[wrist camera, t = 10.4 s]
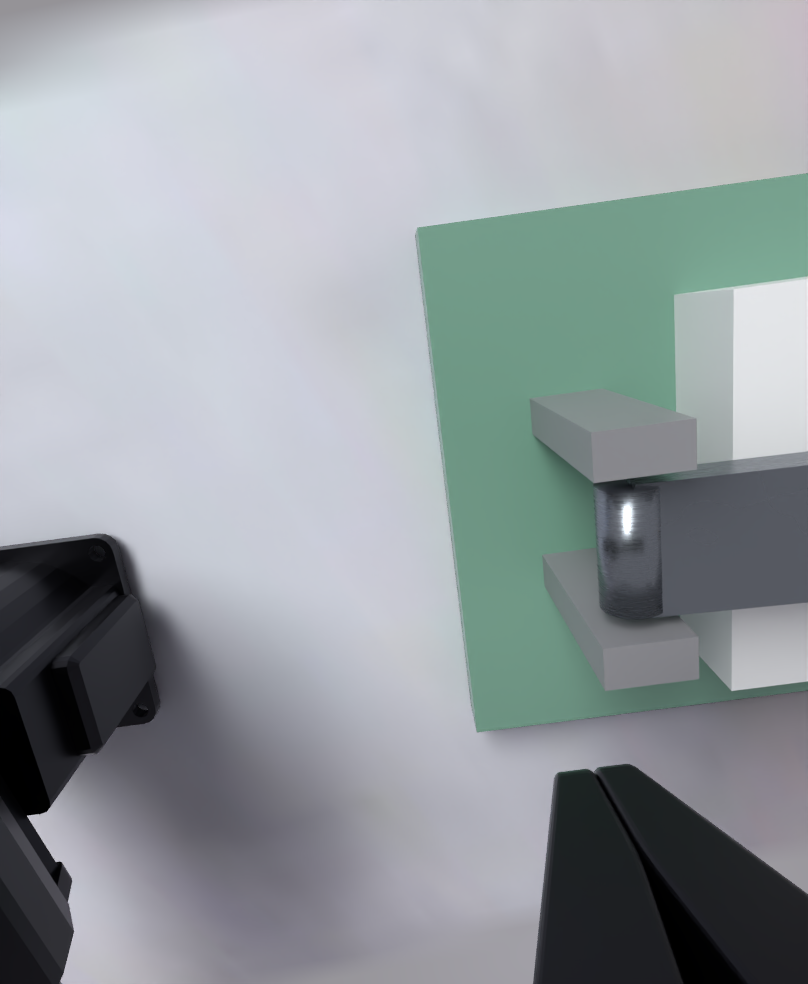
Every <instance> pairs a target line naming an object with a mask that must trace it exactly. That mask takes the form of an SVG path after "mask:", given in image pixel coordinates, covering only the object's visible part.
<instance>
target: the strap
mask: <svg viewBox="0 0 808 984" xmlns="http://www.w3.org/2000/svg"><path fill="white" fill-rule="evenodd" d="M593 498H594V516H595V534H596V552H597V570H598V588H599V605H600V608H601V609H602V610H603V611H604V612H605V613H607V614H609V615H611V616H614V617H618V618H622V619H632V620H639V619H648V618H656V617H666V616H676V615H686V614H697V613H707V612H717V611H727V610H737V609H747V608H757V607H767V606H777V605H787V604H798V603H808V451H807V452H798V453H790V454H781V455H772V456H764V457H755V458H746V459H738V460H729V461H721V462H712V463H703V464H697V470H690V471H682V472H675V473H667V474H660V475H652V476H645V477H637V478H630V479H622V480H614V481H607V482H599V483H593Z"/></svg>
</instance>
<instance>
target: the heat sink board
mask: <svg viewBox="0 0 808 984" xmlns="http://www.w3.org/2000/svg"><path fill="white" fill-rule="evenodd" d="M415 238H416V246H417V255H418V263H419V271H420V280H421V288H422V297H423V305H424V313H425V322H426V330H427V339H428V347H429V355H430V364H431V372H432V380H433V389H434V397H435V406H436V414H437V422H438V431H439V439H440V448H441V456H442V464H443V473H444V481H445V490H446V498H447V506H448V515H449V523H450V532H451V540H452V548H453V557H454V565H455V574H456V582H457V590H458V599H459V607H460V615H461V624H462V632H463V641H464V649H465V657H466V666H467V674H468V683H469V691H470V699H471V706H472V711H473V716H474V721H475V726H476V730H477V732H484V731H492V730H500V729H507V728H515V727H523V726H531V725H539V724H547V723H555V722H563V721H571V720H579V719H586V718H594V717H602V716H610V715H618V714H626V713H634V712H642V711H650V710H658V709H665V708H673V707H681V706H689V705H697V704H705V703H713V702H721V701H729V700H737V699H744V698H752V697H760V696H768V695H776V694H784V693H792V692H800V691H808V603H798V604H787V605H777V606H767V607H757V608H747V609H737V610H727V611H717V612H707V613H697V614H686V615H676V616H666V617H656V618H648V619H639V620H632V619H622V618H618V617H614V616H611V615H609V614H607V613H605V612H604V611H603V610H602V609H601V608H600V605H599V588H598V570H597V552H596V534H595V516H594V498H593V483H599V482H607V481H614V480H622V479H630V478H637V477H645V476H652V475H660V474H667V473H675V472H682V471H690V470H697V464H703V463H712V462H721V461H729V460H738V459H746V458H755V457H764V456H772V455H781V454H790V453H798V452H807V451H808V173H806V174H799V175H792V176H785V177H778V178H770V179H763V180H756V181H749V182H742V183H735V184H727V185H720V186H713V187H706V188H699V189H692V190H684V191H677V192H670V193H663V194H656V195H649V196H641V197H634V198H627V199H620V200H613V201H606V202H598V203H591V204H584V205H577V206H570V207H563V208H555V209H548V210H541V211H534V212H527V213H520V214H512V215H505V216H498V217H491V218H484V219H477V220H470V221H462V222H455V223H448V224H441V225H434V226H427V227H419V228H417V231H416V235H415Z"/></svg>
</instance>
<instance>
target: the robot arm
mask: <svg viewBox="0 0 808 984" xmlns="http://www.w3.org/2000/svg"><path fill="white" fill-rule="evenodd" d="M94 546H100V547H102V548H103V549H104V551H105V557H103V556H99V555H98V554H96V552H95V550H94ZM155 669H156V664H155V660H154V657H153V653H152V649H151V645H150V641H149V638H148V634H147V630H146V626H145V623H144V619H143V615H142V611H141V607H140V604H139V601H138V600H137V599H136V598H135V597H134V596H133V595H132V594H131V591H130V588H129V584H128V580H127V576H126V573H125V569H124V565H123V561H122V558H121V554H120V550H119V547H118V545H117V543H116V541H115V540H114V539H113V538H112V537H111V536H108V535H106V534H93V535H85V536H77V537H70V538H62V539H55V540H47V541H40V542H32V543H25V544H17V545H10V546H2V547H0V984H62V983H61V982H60V980H61V977H62V975H63V973H64V969H65V965H66V961H67V957H68V953H69V949H70V945H71V941H72V937H73V933H74V929H73V924H72V919H71V913H70V908H69V904H68V898H69V893H70V889H71V884H72V878H71V876H70V875H69V873H68V872H67V870H66V868H65V867H64V865H63V864H62V862H55V860H54V859H53V857H52V856H51V854H50V852H49V851H48V849H47V848H46V846H45V844H44V843H43V841H42V840H41V838H40V836H39V835H38V833H37V832H36V830H35V828H34V827H33V825H32V824H31V822H30V821H29V819H28V817H27V815H35V814H42V813H44V812H47V811H48V809H49V808H50V807H51V805H52V804H53V802H54V801H55V799H56V798H57V797H58V795H59V794H60V792H61V791H62V789H63V788H64V787H65V785H66V784H67V782H68V781H69V780H70V778H71V777H72V775H73V774H74V772H75V771H76V770H77V768H78V767H79V765H80V764H81V762H82V761H83V760H84V758H85V757H86V755H91V754H97V753H98V752H99V751H100V750H101V749H102V747H103V746H104V745H105V743H106V742H107V740H108V739H109V737H110V736H111V734H112V733H113V731H114V730H115V728H116V727H122V726H130V725H138V724H145V723H148V722H150V721H151V720H152V719H154V717H155V715H156V714H157V712H158V710H159V708H160V700H159V696H158V692H157V688H156V685H155V681H154V677H153V672H154V671H155ZM138 704H144V705H145V706H147V708H148V710H143V709H141V708H139V706H138ZM538 932H539V933H538V941H537V951H536V960H535V971H534V981H533V984H808V894H807V893H805V892H804V891H802V890H801V889H800V888H799V887H797V886H796V885H795V884H793V883H792V882H791V881H789V880H788V879H787V878H785V877H784V876H782V875H781V874H780V873H778V872H777V871H776V870H774V869H773V868H772V867H770V866H769V865H768V864H766V863H765V862H764V861H762V860H761V859H759V858H758V857H757V856H755V855H754V854H753V853H751V852H750V851H749V850H747V849H746V848H745V847H743V846H742V845H741V844H739V843H738V842H736V841H735V840H734V839H732V838H731V837H730V836H728V835H727V834H726V833H724V832H723V831H722V830H720V829H719V828H718V827H716V826H715V825H713V824H712V823H711V822H709V821H708V820H707V819H705V818H704V817H703V816H701V815H700V814H699V813H697V812H696V811H695V810H693V809H692V808H690V807H689V806H688V805H686V804H685V803H684V802H682V801H681V800H680V799H678V798H677V797H676V796H674V795H673V794H672V793H670V792H669V791H667V790H666V789H665V788H663V787H662V786H661V785H659V784H658V783H657V782H655V781H654V780H653V779H651V778H650V777H649V776H647V775H646V774H644V773H643V772H642V771H640V770H639V769H638V768H636V767H635V766H632V765H630V764H622V765H614V766H606V767H599V768H597V769H596V770H595V771H594V773H593V772H592V771H590V770H588V769H582V770H574V771H566V772H559V773H557V774H556V775H555V777H554V785H553V795H552V804H551V814H550V824H549V834H548V843H547V853H546V863H545V873H544V882H543V892H542V902H541V912H540V921H539V931H538Z"/></svg>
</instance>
